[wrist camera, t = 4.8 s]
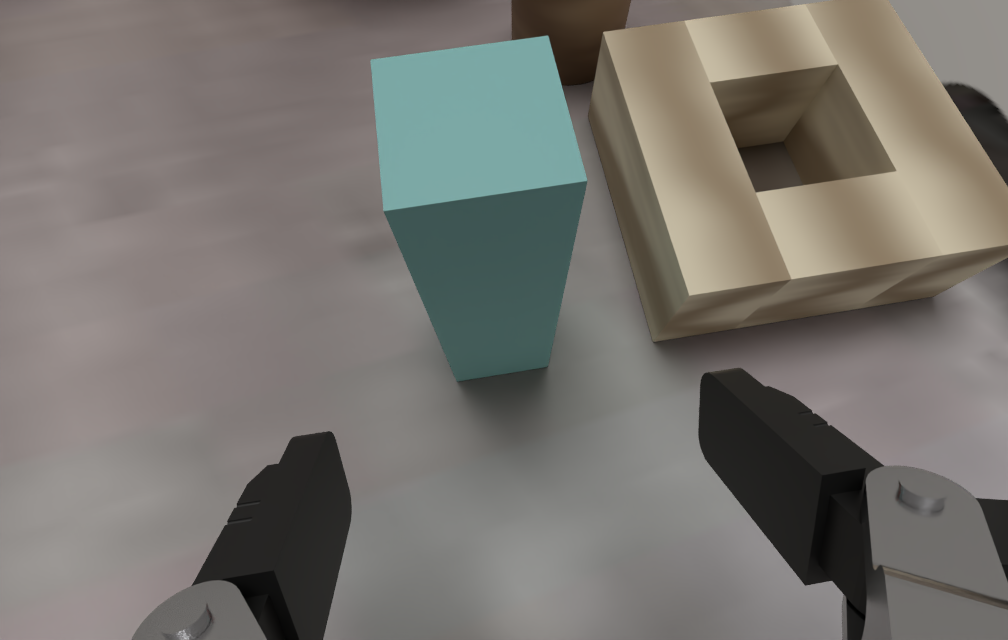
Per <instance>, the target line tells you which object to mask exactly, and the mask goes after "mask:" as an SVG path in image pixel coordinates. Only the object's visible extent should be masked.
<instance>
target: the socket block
mask: <svg viewBox="0 0 1008 640" xmlns="http://www.w3.org/2000/svg"><path fill="white" fill-rule="evenodd" d="M588 117H589V121H590V124H591V128H592V131H593V135H594V138H595V142H596V145H597V149H598V152H599V156H600V159H601V163H602V166H603V170H604V173H605V177H606V180H607V184H608V187H609V191H610V194H611V198H612V201H613V205H614V208H615V212H616V215H617V218H618V222H619V225H620V229H621V232H622V236H623V239H624V243H625V246H626V250H627V253H628V257H629V260H630V264H631V267H632V271H633V274H634V278H635V281H636V285H637V288H638V292H639V295H640V299H641V302H642V306H643V309H644V313H645V316H646V320H647V323H648V327H649V330H650V333H651V337H652V340H653V342H657V341H663V340H669V339H675V338H681V337H687V336H694V335H700V334H706V333H712V332H718V331H724V330H731V329H737V328H743V327H749V326H755V325H761V324H768V323H774V322H780V321H786V320H792V319H798V318H805V317H811V316H817V315H823V314H829V313H835V312H842V311H848V310H854V309H860V308H866V307H872V306H879V305H885V304H891V303H897V302H903V301H909V300H916V299H922V298H928V297H934V296H936V295H937V294H939V293H941V292H943V291H945V290H947V289H949V288H951V287H953V286H954V285H956V284H958V283H960V282H962V281H964V280H966V279H968V278H970V277H972V276H973V275H975V274H977V273H979V272H981V271H983V270H985V269H987V268H989V267H990V266H992V265H994V264H996V263H998V262H1000V261H1002V260H1004V259H1006V258H1007V257H1008V187H1007V185H1006V184H1005V182H1004V181H1003V179H1002V178H1001V176H1000V174H999V173H998V171H997V170H996V168H995V167H994V165H993V163H992V162H991V160H990V159H989V157H988V156H987V154H986V152H985V151H984V149H983V148H982V146H981V145H980V143H979V142H978V140H977V138H976V137H975V135H974V134H973V132H972V131H971V129H970V127H969V126H968V124H967V123H966V121H965V120H964V118H963V117H962V115H961V113H960V112H959V110H958V109H957V107H956V106H955V104H954V102H953V101H952V99H951V98H950V96H949V95H948V93H947V92H946V90H945V88H944V87H943V85H942V84H941V82H940V81H939V79H938V77H937V76H936V74H935V73H934V71H933V70H932V68H931V67H930V65H929V63H928V62H927V60H926V59H925V57H924V56H923V54H922V52H921V51H920V49H919V48H918V46H917V45H916V43H915V42H914V40H913V38H912V37H911V35H910V34H909V32H908V31H907V29H906V27H905V26H904V24H903V23H902V22H901V20H900V18H899V16H898V15H897V14H896V12H895V11H894V9H893V7H892V6H891V4H890V2H889V1H888V0H833V1H825V2H818V3H810V4H803V5H796V6H789V7H781V8H774V9H767V10H759V11H752V12H745V13H738V14H730V15H723V16H716V17H708V18H701V19H694V20H686V21H679V22H672V23H665V24H657V25H650V26H643V27H635V28H628V29H621V30H614V31H606V32H603V35H602V41H601V47H600V52H599V58H598V63H597V69H596V74H595V80H594V85H593V91H592V97H591V102H590V108H589V113H588Z"/></svg>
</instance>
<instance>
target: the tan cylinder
mask: <svg viewBox="0 0 1008 640" xmlns="http://www.w3.org/2000/svg"><path fill="white" fill-rule="evenodd" d="M630 3H631V0H512V40H519V39H526V38H534V37H541V36H548V37H549V40H550V44H551V48H552V52H553V55H554V59H555V63H556V66H557V70H558V74H559V77H560V81H561V85H578V84H583V83H587V82H590V81H593V80H595V74H596V69H597V63H598V58H599V52H600V47H601V41H602V35H603V32H606V31H614V30H621V29H625V25H626V20H627V16H628V12H629V7H630Z"/></svg>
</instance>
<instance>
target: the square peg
mask: <svg viewBox="0 0 1008 640" xmlns="http://www.w3.org/2000/svg"><path fill="white" fill-rule="evenodd" d="M371 71H372V82H373V94H374V105H375V117H376V128H377V140H378V152H379V163H380V175H381V186H382V198H383V209H384V213H385V215H386V218H387V220H388V222H389V225H390V227H391V229H392V232H393V234H394V236H395V239H396V241H397V243H398V246H399V248H400V250H401V253H402V255H403V257H404V260H405V262H406V264H407V267H408V269H409V271H410V274H411V276H412V278H413V281H414V283H415V285H416V288H417V290H418V292H419V295H420V297H421V299H422V301H423V304H424V306H425V308H426V311H427V313H428V315H429V318H430V320H431V322H432V325H433V327H434V329H435V332H436V334H437V336H438V339H439V341H440V343H441V346H442V348H443V350H444V353H445V355H446V357H447V360H448V362H449V364H450V367H451V369H452V371H453V374H454V376H455V378H456V381H457V382H458V381H464V380H470V379H476V378H482V377H488V376H495V375H501V374H507V373H513V372H519V371H525V370H531V369H538V368H544V367H548V364H549V359H550V354H551V349H552V345H553V340H554V335H555V331H556V326H557V321H558V317H559V312H560V307H561V303H562V298H563V293H564V288H565V284H566V279H567V274H568V270H569V265H570V260H571V256H572V251H573V246H574V242H575V237H576V232H577V227H578V223H579V218H580V213H581V209H582V204H583V199H584V195H585V190H586V185H587V177H586V174H585V170H584V166H583V163H582V159H581V155H580V152H579V148H578V144H577V140H576V137H575V133H574V129H573V126H572V122H571V118H570V115H569V111H568V107H567V103H566V100H565V96H564V92H563V89H562V85H561V81H560V77H559V74H558V70H557V66H556V63H555V59H554V55H553V52H552V48H551V44H550V40H549V37H548V36H541V37H534V38H526V39H519V40H512V41H504V42H497V43H490V44H483V45H475V46H468V47H461V48H453V49H446V50H439V51H431V52H424V53H417V54H409V55H402V56H395V57H387V58H380V59H373V60H371Z"/></svg>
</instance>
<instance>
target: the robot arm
mask: <svg viewBox="0 0 1008 640" xmlns="http://www.w3.org/2000/svg"><path fill="white" fill-rule="evenodd" d="M698 432H699V442H700V447H701V450H702V453H703V455H704V457H705V459H706V461H707V462H708V463H709V465H710V466H711V467H712V469H713V470H714V471H715V472H716V474H717V475H718V476H719V477H720V479H721V480H722V481H723V482H724V484H725V485H726V486H727V487H728V489H729V490H730V491H731V492H732V494H733V495H734V496H735V498H736V499H737V500H738V501H739V503H740V504H741V505H742V506H743V508H744V509H745V510H746V511H747V513H748V514H749V515H750V516H751V518H752V519H753V520H754V521H755V523H756V524H757V525H758V527H759V528H760V529H761V530H762V532H763V533H764V534H765V535H766V537H767V538H768V539H769V540H770V542H771V543H772V544H773V545H774V547H775V548H776V549H777V551H778V552H779V553H780V554H781V556H782V557H783V558H784V559H785V561H786V562H787V563H788V564H789V566H790V567H791V568H792V569H793V571H794V572H795V573H796V574H797V576H798V577H799V578H800V580H801V581H802V582H803V583H804V585H811V584H816V583H822V582H827V581H833V582H834V583H835V585H836V586H837V587H838V588H839V589H840V590H841V592H842V593H843V594H844V595H843V600H842V640H1008V500H995V499H980V498H975V497H974V496H973V495H972V494H971V493H969V492H968V491H967V490H966V489H964V488H963V487H962V486H960V485H958V484H957V483H955V482H953V481H951V480H949V479H947V478H945V477H943V476H941V475H938V474H935V473H933V472H929V471H926V470H923V469H918V468H914V467H907V466H884V465H882V464H881V463H880V462H879V461H877V460H876V459H875V458H873V457H872V456H871V455H869V454H868V453H867V452H865V451H864V450H863V449H862V448H860V447H859V446H858V445H856V444H855V443H854V442H852V441H851V440H850V439H848V438H847V437H846V436H845V435H843V434H842V433H841V432H839V431H838V430H837V429H835V428H834V427H833V426H831V425H830V426H828V424H827V422H826V421H825V420H824V419H822V418H821V417H820V416H818V415H817V414H816V413H815V414H813V413H812V410H811V409H809V408H808V407H807V406H805V405H804V404H803V403H801V402H800V401H799V400H797V399H796V398H795V397H793V396H791V395H789V394H786V393H784V392H782V391H779V390H777V389H775V388H772V387H770V386H767V387H765V386H763V385H762V384H761V383H760V382H758V381H757V380H756V379H755V378H753V377H752V376H751V375H750V374H748V373H747V372H746V371H745V370H743V369H741V368H734V369H728V370H721V371H715V372H708V373H705V374H704V375H703V376H702V379H701V384H700V407H699V431H698ZM351 513H352V507H351V496H350V490H349V487H348V483H347V479H346V476H345V472H344V468H343V465H342V461H341V457H340V454H339V450H338V446H337V443H336V439H335V437H334V435H333V433H332V432H330V431H328V432H322V433H315V434H309V435H302V436H295V437H293V438H292V439H291V440H290V442H289V444H288V446H287V448H286V450H285V452H284V454H283V456H282V458H281V460H280V462H279V464H274V465H267V466H266V467H265V468H264V469H263V470H262V471H261V472H260V473H259V474H258V475H257V476H256V477H255V478H254V479H253V480H251V481H250V482H249V483H248V484H247V486H246V488H245V490H244V492H243V493H242V495H241V497H240V499H239V501H238V503H237V508H234V510H233V512H232V513H231V515H230V517H229V519H228V521H227V522H228V524H227V525H225V526H224V528H223V530H222V532H221V534H220V535H219V537H218V539H217V541H216V543H215V544H214V546H213V548H212V550H211V552H210V554H209V555H208V557H207V559H206V561H205V563H204V564H203V566H202V568H201V570H200V572H199V574H198V575H197V577H196V579H195V581H194V583H193V584H192V586H191V587H189V588H186V589H184V590H182V591H181V592H179V593H177V594H175V595H174V596H172V597H170V598H169V599H167V600H166V601H165V602H163V603H162V604H161V605H159V606H158V607H157V608H156V609H155V610H154V611H153V612H152V613H150V615H149V616H148V617H147V618H146V619H145V620H144V621H143V622H142V624H141V625H140V626H139V628H138V629H137V631H136V632H135V634H134V636H133V638H132V640H323V637H324V633H325V629H326V625H327V620H328V616H329V612H330V607H331V603H332V599H333V595H334V590H335V586H336V582H337V578H338V573H339V569H340V565H341V561H342V556H343V552H344V548H345V544H346V539H347V535H348V531H349V527H350V522H351Z"/></svg>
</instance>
